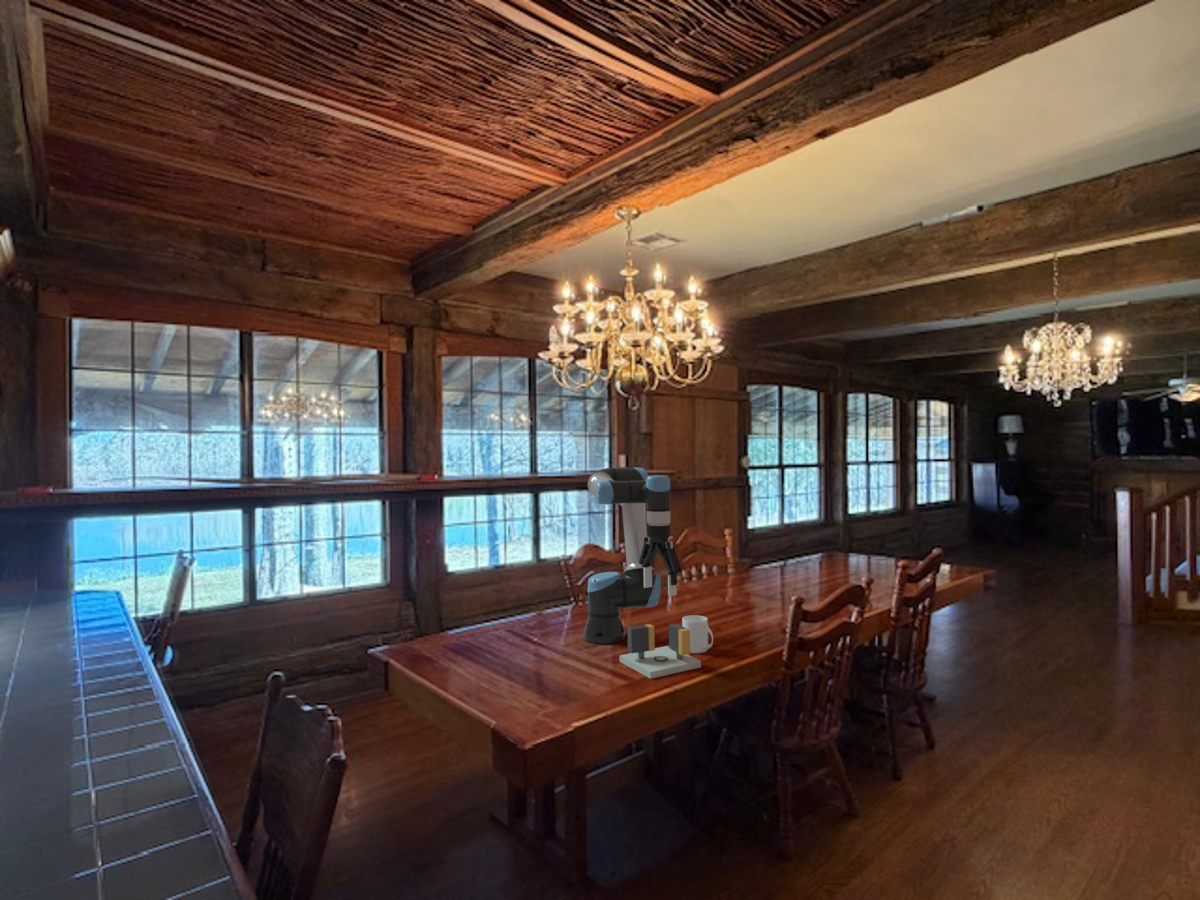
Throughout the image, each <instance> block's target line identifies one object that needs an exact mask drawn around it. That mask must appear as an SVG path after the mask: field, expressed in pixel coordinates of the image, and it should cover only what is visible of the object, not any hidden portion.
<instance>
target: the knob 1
mask: <svg viewBox="0 0 1200 900" xmlns="http://www.w3.org/2000/svg"><path fill="white" fill-rule="evenodd" d="M626 629H627V630H626V631H627V651H628V652H629V653H638V658H640V659H643V658H644V652H645V651H653V650H655V648H656V646H655V626H654V625H653V624H651V623H649V624H641V625H636V626H635V625H634V626H627V628H626Z"/></svg>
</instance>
